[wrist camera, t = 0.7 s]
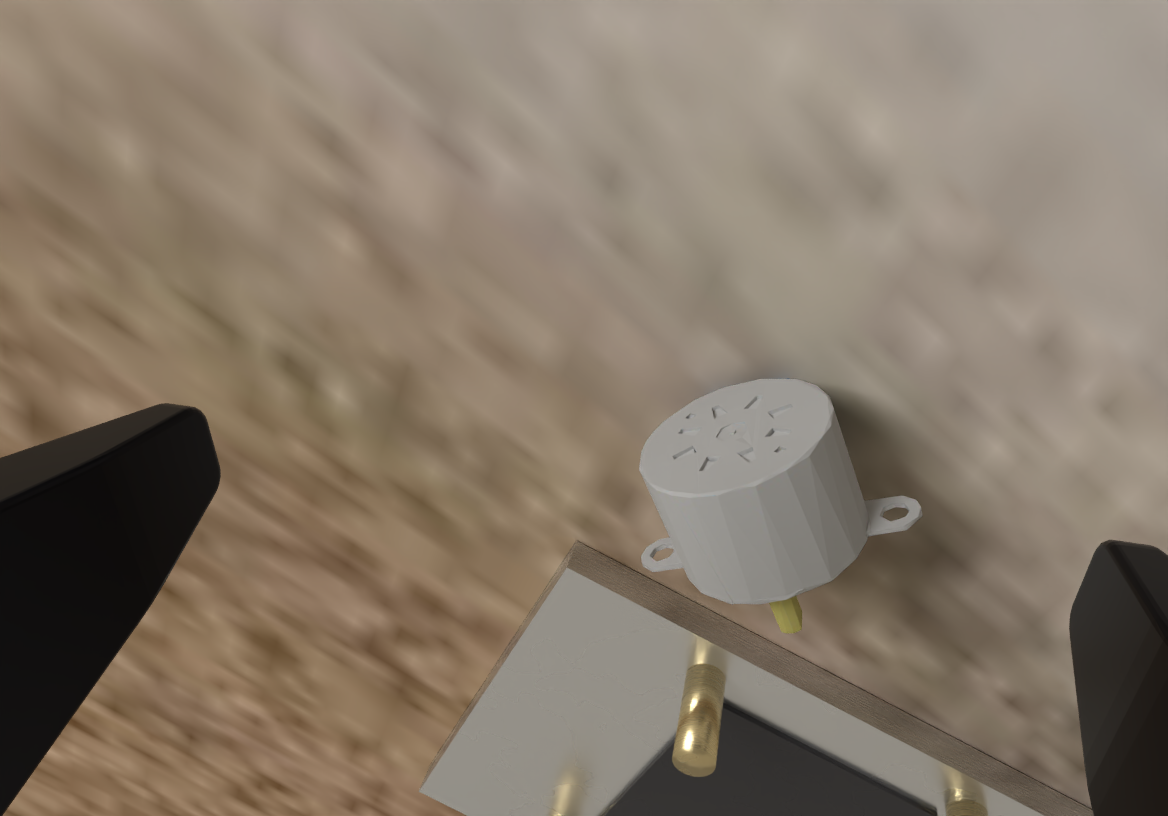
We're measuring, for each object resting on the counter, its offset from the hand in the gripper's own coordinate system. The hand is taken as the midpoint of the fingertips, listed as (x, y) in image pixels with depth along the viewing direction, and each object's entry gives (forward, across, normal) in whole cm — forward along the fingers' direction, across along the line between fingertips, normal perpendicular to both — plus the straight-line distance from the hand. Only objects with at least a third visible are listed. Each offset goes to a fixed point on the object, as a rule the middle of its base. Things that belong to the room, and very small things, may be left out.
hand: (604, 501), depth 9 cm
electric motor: (+13, -2, +8) cm, 15 cm away
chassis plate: (+13, -2, +22) cm, 26 cm away
